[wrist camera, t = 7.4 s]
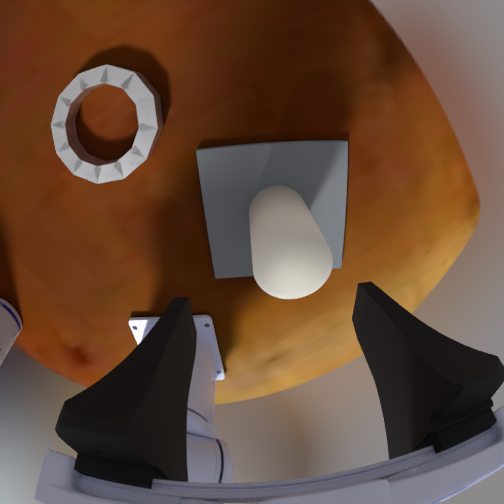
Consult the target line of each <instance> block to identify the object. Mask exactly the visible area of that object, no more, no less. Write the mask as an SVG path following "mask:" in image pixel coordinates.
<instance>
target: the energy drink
mask: <svg viewBox="0 0 504 504" xmlns="http://www.w3.org/2000/svg"><path fill="white" fill-rule="evenodd" d="M21 330H22V321H21V318H20V316H19V314H18V312H17V311H16V309H15V308H14V307H13V306H12V305H11V304H10V303H8V302H7V301H6V300H4V299H1V298H0V365H1V363H2V361H3V360H4V358H5V356H6V355H7V353H8V351H9V349H10V348H11V346H12V344H13V343H14V341H15V339H16V338H17V336H18V335H19V333H20V331H21Z"/></svg>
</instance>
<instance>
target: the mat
mask: <svg viewBox="0 0 504 504" xmlns="http://www.w3.org/2000/svg"><path fill="white" fill-rule="evenodd" d="M196 154H197V162H198V169H199V177H200V184H201V191H202V198H203V205H204V211H205V218H206V224H207V231H208V237H209V243H210V250H211V256H212V262H213V268H214V273H215V279H221V278H234V277H247V276H254V274H253V264H252V251H251V237H250V224H249V207H250V204H251V201H252V199H253V198H254V197H255V195H256V194H257V193H258V192H260V191H261V190H263V189H264V188H267V187H270V186H274V185H283V186H287V187H290V188H292V189H294V190H295V191H297V192H298V193H299V194H300V195H301V197H302V198H303V200H304V202H305V204H306V205H307V207H308V209H309V211H310V213H311V214H312V216H313V218H314V220H315V222H316V223H317V225H318V227H319V229H320V231H321V233H322V234H323V236H324V238H325V240H326V242H327V244H328V246H329V248H330V250H331V252H332V256H333V266H332V269H336V268H341V264H342V253H343V242H344V229H345V214H346V196H347V170H348V142H347V141H346V140H315V141H286V142H268V143H253V144H241V145H230V146H220V147H211V148H202V149H197V150H196Z"/></svg>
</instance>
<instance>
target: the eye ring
mask: <svg viewBox="0 0 504 504" xmlns="http://www.w3.org/2000/svg"><path fill="white" fill-rule="evenodd" d="M107 84H110V85H113V86H117V87H120V88H123V89H124V90H125V92H126V93H127V94H128V95H129V97H130V98H131V99H132V100H133V102H134V103H135V104H136V108H137V115H138V122H139V129H138V132H137V135H136V137H135V140H134V143H133V146H132V148H131V149H130V150H129V151H128V152H127V153H126V154H125V155H124V156H123V157H122V158H118V159H113V160H109V161H105V160H102V159H100V158H97V157H94V156H92V155H89V153H88V152H87V151H86V150H85V148H84V147H83V146H82V145H81V143H80V142H79V141H78V136H77V130H76V124H75V120H76V117H77V113H78V110H79V107H80V104H81V102H82V101H83V100H84V99H85V98H86V96H87V95H88V94H89V93H90V92H91V91H92V90H93V89H94V88H97V87H100V86H103V85H107ZM163 126H164V124H163V117H162V109H161V101H160V95H159V94H158V93H157V91H156V90H155V89H154V88H153V86H152V85H151V84H150V83H149V81H148V80H147V79H146V78H145V76H144V75H143V74H142V73H139V72H136V71H133V70H129V69H126V68H122V67H119V66H115V65H107V64H106V65H103V66H100V67H97V68H94V69H91V70H88V71H85V72H82V73H80V74H78V75H77V76H76V77H75V78H74V80H73V81H72V82H71V83H70V84H69V85H68V86H67V87H66V88H65V90H64V91H63V92H62V93H61V94H60V95H59V97H58V101H57V104H56V108H55V111H54V115H53V119H52V123H51V128H52V133H53V139H54V144H55V149H56V153H57V154H58V156H59V157H60V158H61V160H62V161H63V162H64V163H65V165H66V166H67V167H68V169H69V170H70V171H71V172H72V174H74V175H76V176H79V177H81V178H84V179H87V180H89V181H92V182H94V183H97V184H99V183H104V182H109V181H114V180H120V179H124V178H126V177H127V176H128V175H129V174H130V173H131V172H133V171H134V170H135V169H136V168H137V167H138V166H139V165H141V164H142V163H143V162H144V161H145V160H146V159H148V158H149V157H150V156H151V155H152V154H153V152H154V150H155V147H156V144H157V142H158V139H159V136H160V134H161V131H162V129H163Z"/></svg>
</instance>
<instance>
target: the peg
mask: <svg viewBox="0 0 504 504" xmlns="http://www.w3.org/2000/svg"><path fill="white" fill-rule="evenodd" d="M249 224H250V237H251V251H252V264H253V274H254V278H255V280H256V282H257V284H258V285H259V286H260V288H261V289H263V290H264V291H265V292H266V293H268V294H270V295H272V296H274V297H277V298H282V299H296V298H301V297H304V296H307V295H309V294H311V293H313V292H315V291H316V290H318V289H319V288H320V287H321V286H322V285H323V284H324V283H325V282H326V280H327V279H328V277H329V275H330V273H331V270H332V266H333V256H332V252H331V250H330V248H329V246H328V244H327V242H326V240H325V238H324V236H323V234H322V233H321V231H320V229H319V227H318V225H317V223H316V222H315V220H314V218H313V216H312V214H311V213H310V211H309V209H308V207H307V205H306V204H305V202H304V200H303V198H302V197H301V195H300V194H299V193H298V192H297V191H295V190H294V189H292V188H290V187H287V186H283V185H274V186H270V187H267V188H264V189H263V190H261V191H260V192H258V193H257V194H256V195H255V197H254V198H253V199H252V201H251V204H250V207H249Z"/></svg>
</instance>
